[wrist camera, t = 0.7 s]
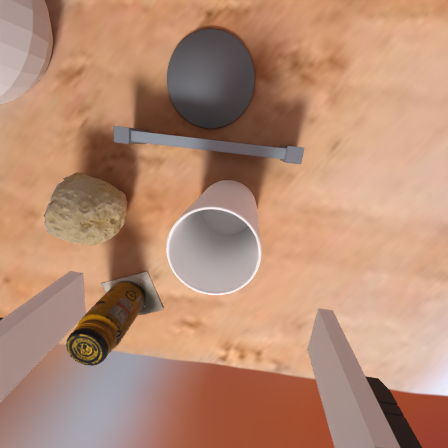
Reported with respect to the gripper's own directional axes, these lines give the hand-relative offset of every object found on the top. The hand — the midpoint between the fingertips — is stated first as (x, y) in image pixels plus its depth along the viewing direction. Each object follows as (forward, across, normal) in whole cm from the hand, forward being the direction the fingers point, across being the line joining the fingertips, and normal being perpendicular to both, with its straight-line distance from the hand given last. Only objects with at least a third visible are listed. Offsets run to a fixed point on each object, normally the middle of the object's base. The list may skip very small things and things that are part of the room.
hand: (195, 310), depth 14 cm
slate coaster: (+24, -4, +16) cm, 29 cm away
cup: (+24, 0, 0) cm, 24 cm away
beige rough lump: (+24, -18, -2) cm, 30 cm away
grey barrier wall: (+24, -3, +8) cm, 26 cm away
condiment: (+24, -14, -17) cm, 33 cm away
